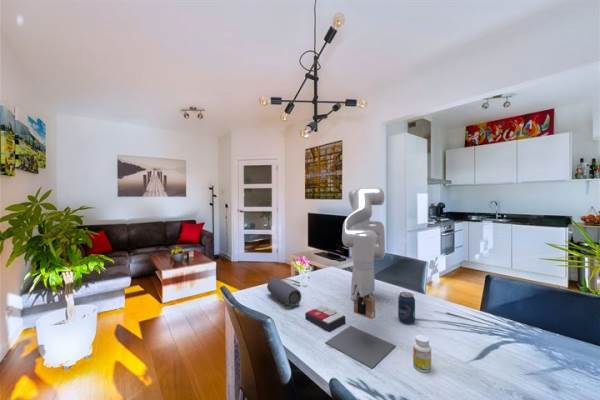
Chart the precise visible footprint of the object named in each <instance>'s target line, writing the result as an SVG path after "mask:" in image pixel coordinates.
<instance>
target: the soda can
mask: <svg viewBox="0 0 600 400" xmlns="http://www.w3.org/2000/svg"><path fill="white" fill-rule="evenodd" d="M397 299H398V300H397V302H398V303H397V309H398V311H397V313H398V314H397V317H398V319H399V321H400V322H401V323H403V324H405V325H413V324H414V323H415V322H416V299H415V297H414V294H413V293H411V292H407V291H401V292H399V295H398V297H397Z"/></svg>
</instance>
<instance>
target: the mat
mask: <svg viewBox="0 0 600 400" xmlns="http://www.w3.org/2000/svg"><path fill="white" fill-rule="evenodd" d="M325 344H326V345H327V346H329V347H331V348H333V349H335V350H337V351H339V352H340V353H343V354H344V355H346V356H348V357H350V358H351V359H353V360H355V361H357V362H358V363H360V364H362V365H364V366H366V367H368V368H370V369H372V370H373V369H374V368H376V366H377V365H379V363H380V362H381V361H383V359H384V358H386V357H387V356H388V354H390V353H391V352H392V351H393V350H394V349H395V348H396V347H397V345H395V344H393V343H391V342H389V341H387V340H384V339H382V338H380V337H377V336H375V335H373V334H371V333H368V332H366V331H365V330H362V329H359V328H357V327H355V326H352V325H349V326H348V327H346V328H345V329H343V330H342V331H340V332H339V333H337V334H335V335H334V336H332V337H331V338H329V339H327V340H326V341H325Z"/></svg>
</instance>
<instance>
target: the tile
mask: <svg viewBox="0 0 600 400" xmlns="http://www.w3.org/2000/svg"><path fill="white" fill-rule="evenodd" d="M360 298H361V297H360ZM361 299H362V298H361ZM365 304H366V314H365V315H363V314H360V313H358V303H357V301H356V300H354V301H353V313H354V314H357V315H359V316H362V317H365V318H367V319H371V320H374V319H375V318H376V298H375V297H374V298H371V297H368V296H365Z"/></svg>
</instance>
